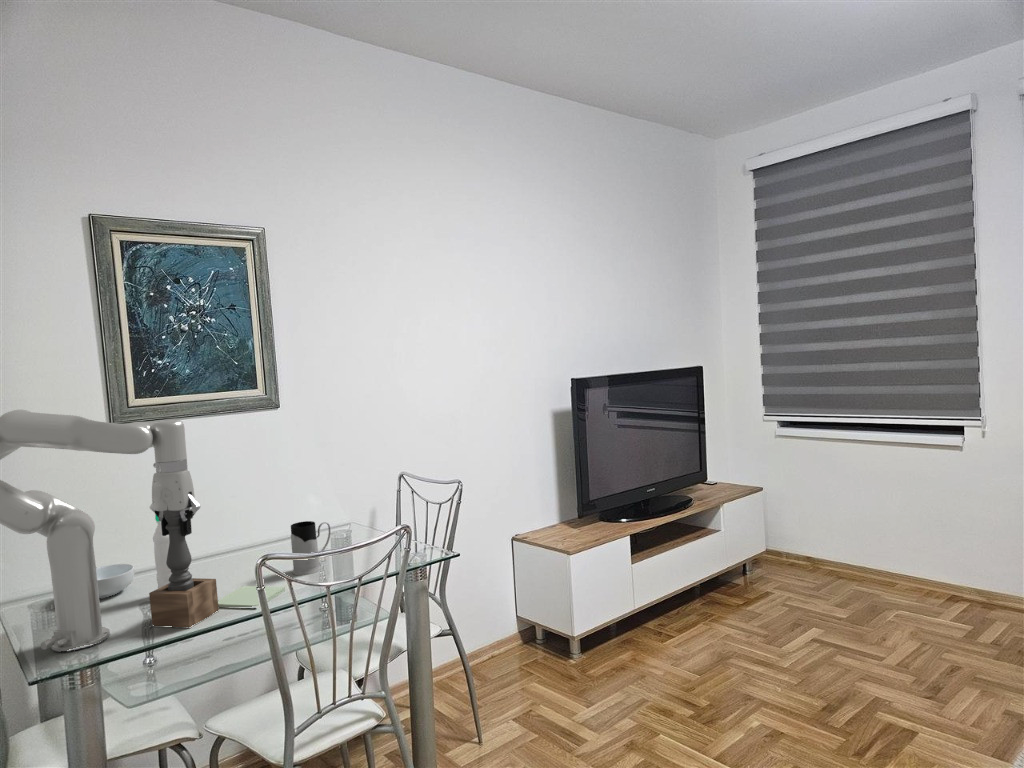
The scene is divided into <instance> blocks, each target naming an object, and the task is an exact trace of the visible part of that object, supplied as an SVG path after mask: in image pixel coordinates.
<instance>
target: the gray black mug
mask: <svg viewBox="0 0 1024 768" xmlns="http://www.w3.org/2000/svg"><path fill="white" fill-rule="evenodd" d="M324 524H326V525H327V527H328V534H327V535H328V536H327V539H326V543H325V544H324V546H323V548H322V549H321V551H323V552H324V551H325V549H326V548H327V546H328V544H329V542H330V538H331V526H330V524H329V523H328V522H325V521H324V522H321V523H320V524H319V525H318V526H317V527H318V528H317V527H316V522H315V521H310V520H309V521H307V520H306V521H299V522H295V523H293V524H290V533H291V534H290V541H291V542H290V543H291V553H311V552H318V553H319V548H318V538H319V537H320V535H321V531H320V530H321V527H322V525H324ZM316 528H317V531H316ZM321 551H320V552H321ZM319 558H320V557H319ZM319 558H315V559H308V560H293V559H292V565H293V567H292V568H293V569H292V574H293V575H295V576H306V575H307V576H308V575H312V574H315V573H318V572H320V571H321V566H320V559H319Z"/></svg>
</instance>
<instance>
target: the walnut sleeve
mask: <svg viewBox="0 0 1024 768" xmlns="http://www.w3.org/2000/svg"><path fill="white" fill-rule="evenodd" d="M191 579H192V580H193V582H194V587H193V588H191V589H189V590H187V591H168V584H167V585H165V586H163V587H161V588H158V587H157V589H155V590H153V591H151V592H148V596H149V606H150V607H149V608H150V615H151V616H150V617H151V625H152V624H153V625H154V626H172V627H191V626H192V625H194V624H196V623H198V622H200V621H201V622H203V621H205V620H206V619H208V618H210V617H211V616H213V615H214V614H213V613H215V612H216V611H218V610H220V608H218V600H219V599H218V597H219V596H218V590H217V589H218V588H217V579H216V578H193V577H192V578H191ZM218 612H219V611H218ZM216 613H217V612H216ZM216 613H215V614H216ZM212 614H213V615H212ZM210 615H211V616H210ZM209 616H210V617H209ZM207 617H208V618H207ZM205 618H206V619H205ZM204 619H205V620H204ZM202 620H203V621H202ZM201 622H200V623H201ZM198 624H199V623H198ZM196 625H197V624H196ZM191 628H192V627H191Z"/></svg>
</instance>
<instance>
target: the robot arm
mask: <svg viewBox="0 0 1024 768" xmlns="http://www.w3.org/2000/svg"><path fill="white" fill-rule="evenodd" d="M20 448H41V449H42V448H43V449H56V450H70V451H79V452H94V453H103V454H104V453H105V454H106V453H107V454H117V455H118V454H121V455H139V454H142V453H145V452H147V450H149V449H151V448H153V449H154V451H153V452H154V460H155V461H154V463H153V465H152V466H153V468H154V469H155V471H156V472H155V473H153V475H152V481H151V482H152V484H151V504H150V506H149V510H151V511H152V512H153V513H154V515H157V517H158V519H159V521H161V526H162V536H166V535H169V531H168V530H167V529H166V525H167V524H168V522H167V520H166V519H165V516H164V514H163V511H165V510H167V505H168V510H169V511H179V512H180V515H181V518H182V520H183V521H181V522H180V525H181V535H182V536H185V537H186V536H189V535H191V534H192V532H193V531H192V529H193V528H192V519H193V518H194V516H195V515H196V513H197V512H198V511H199V510H200V509H201V505H200V503H199V502H198V501H197V500H196V499H195V489H194V484H193V479H192V475H191V472H190V470H188V456H187V455H188V454H187V445H186V433H185V424H184V422H183V421H182V420H179V419H170V420H167V419H166V420H161V421H157V422H155V421H154V422H151V421H134V422H130V423H116V422H105V421H98V420H92V419H88V418H86V417H82V416H80V415H79V416H78V415H71V414H58V413H57V414H56V413H45V412H44V413H43V412H33V411H30V410H27V409H14V410H12V411H8V412H7V411H6V412H5V413H3V414H2V415H1V416H0V461H1V460H3V459H5V458H6V457H8V456H9V455H11V454H13V452H15V451H17V450H19V449H20ZM185 511H186V513H185ZM0 525H1V526H4V527H6V528H8V529H9V530H12V531H13V532H16V533H18V534H22V535H31V534H35V533H37V534H39V535H41V536H43V537H45V538H46V551H47V557H48V561H49V567H50V576H51V585H52V592H53V593H52V594H53V603H54V613H55V620H56V622H55V623H56V630H54V631H53V635H52V636H51V637H50V638H49V639H46V640H44V641H42V642H41V643H40V649H41V650H42V651H43V650H44V651H45V650H48V649H49V648H51V649H52V651H55V652H58V653H59V652H61V651H67V650H69V649H73V648H76V647H80V646H84V645H90V644H95V643H98V642H100V641H102V642H104V641H105V640H107V639H108V638H109V637H110V635H111V632H110V631H111V630H110V628H108V627H106V626H103V622H102V613H101V612H102V611H101V603H100V599H99V592H98V582H97V573H96V567H97V565H96V556H95V549H94V536H95V535H94V534H95V529H96V526H95V522H94V520H93V518H92V517H91V516H90V515H89V514H87V513H86V512H85V511H84V510H81V509H79V508H78V507H75V506H73V505H71V504H69V503H68V502H66V501H63V500H61V499H60V498H58V497H56V496H54V495H52V494H51V493H48V492H46V491H42V490H37V489H36V490H35V489H33V490H32V489H31V490H27V491H23V490H21V489H19V488H17V487H15V486H13V485H11V484H9V483H7V482H6V481H4V480H3V479H0ZM107 637H108V638H107ZM106 638H107V639H106ZM104 639H105V640H104ZM103 640H104V641H103ZM100 643H101V642H100ZM98 644H99V643H98ZM67 652H68V651H67ZM61 653H62V652H61Z"/></svg>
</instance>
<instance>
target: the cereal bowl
mask: <svg viewBox="0 0 1024 768" xmlns="http://www.w3.org/2000/svg"><path fill="white" fill-rule="evenodd" d="M96 573H97V582H98V592H99V598H102V599H106V598H105V597H107V598H110V597H109V596H111V597H113V596H116V595H118V594H119V593H120V592H121V591H122V590H124V589H126V588H128V587H129V586H130V585H131V584H132V582H133V581H134V577H135V566H134V565H133V564H130V563H128V564H127V563H115V564H108V565H102V566H96ZM117 593H118V594H117ZM115 594H116V595H115ZM112 595H113V596H112Z"/></svg>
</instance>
